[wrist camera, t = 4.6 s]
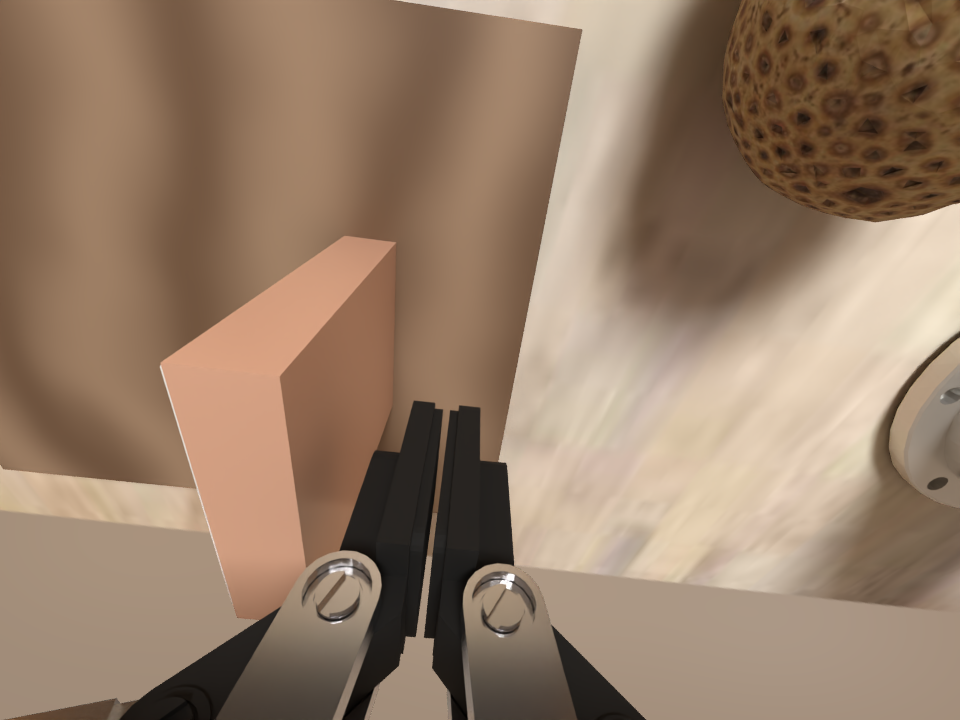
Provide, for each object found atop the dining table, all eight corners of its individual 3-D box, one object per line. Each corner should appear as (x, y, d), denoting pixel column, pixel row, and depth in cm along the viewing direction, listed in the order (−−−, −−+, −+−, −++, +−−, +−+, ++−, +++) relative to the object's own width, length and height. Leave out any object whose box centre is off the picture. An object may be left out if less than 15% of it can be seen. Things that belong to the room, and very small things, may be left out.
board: (572, 40, 12) (582, 29, 11) (487, 495, 22) (487, 517, 21) (-257, -87, 11) (-354, -116, 10) (33, 448, 21) (3, 469, 20)
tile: (396, 242, 14) (279, 376, 6) (392, 405, 17) (314, 624, 10) (338, 235, 14) (146, 361, 6) (346, 399, 17) (228, 617, 10)
